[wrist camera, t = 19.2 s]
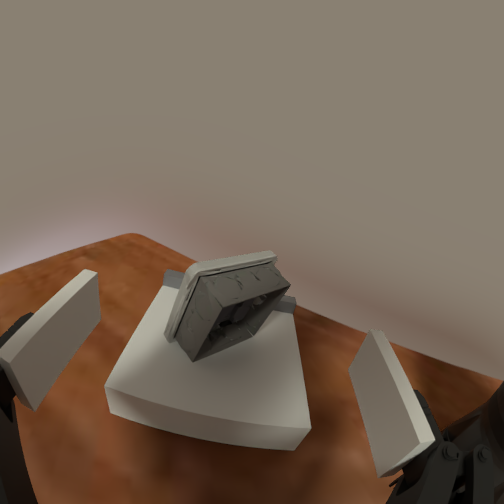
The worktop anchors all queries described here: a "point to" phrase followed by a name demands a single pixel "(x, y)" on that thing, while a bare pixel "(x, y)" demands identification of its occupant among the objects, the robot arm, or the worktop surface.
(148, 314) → the white square box
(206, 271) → the electrical switch
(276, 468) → the worktop surface
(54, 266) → the worktop surface
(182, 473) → the worktop surface
